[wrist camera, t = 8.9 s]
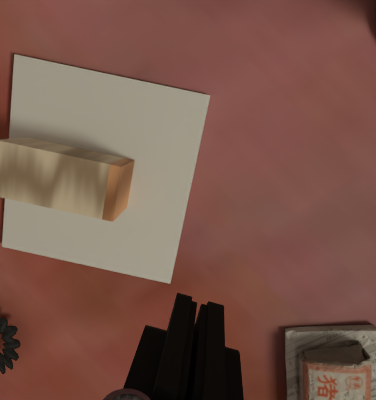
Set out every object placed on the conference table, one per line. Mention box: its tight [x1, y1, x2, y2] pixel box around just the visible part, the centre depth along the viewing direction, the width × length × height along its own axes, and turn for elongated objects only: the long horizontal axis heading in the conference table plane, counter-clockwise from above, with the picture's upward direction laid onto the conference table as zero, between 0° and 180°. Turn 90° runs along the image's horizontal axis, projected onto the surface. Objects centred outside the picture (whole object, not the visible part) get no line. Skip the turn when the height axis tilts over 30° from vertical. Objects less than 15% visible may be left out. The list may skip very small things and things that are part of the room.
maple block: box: [0, 137, 135, 222], centre depth 30 cm, size 5×5×11 cm
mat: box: [2, 54, 210, 284], centre depth 33 cm, size 20×19×1 cm
